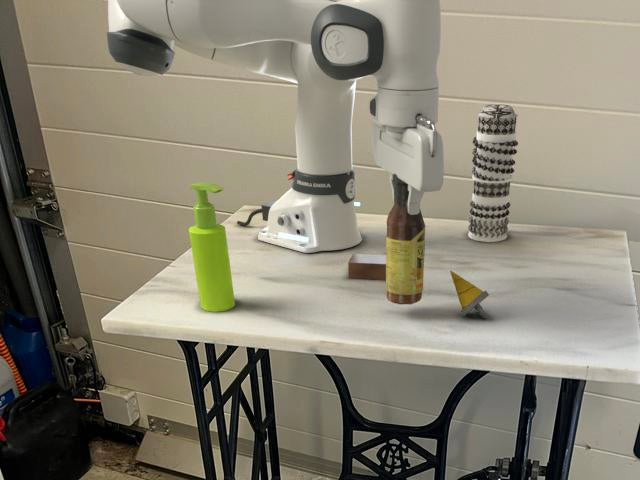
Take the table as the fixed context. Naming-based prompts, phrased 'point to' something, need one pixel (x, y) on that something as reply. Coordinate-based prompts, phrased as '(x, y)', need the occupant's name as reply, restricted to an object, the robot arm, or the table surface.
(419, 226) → the sauce bottle
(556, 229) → the table surface
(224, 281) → the lime green necked cylinder
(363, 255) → the plywood offcut
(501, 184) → the decorative candle
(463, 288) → the yellow tipped cone
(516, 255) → the table surface
